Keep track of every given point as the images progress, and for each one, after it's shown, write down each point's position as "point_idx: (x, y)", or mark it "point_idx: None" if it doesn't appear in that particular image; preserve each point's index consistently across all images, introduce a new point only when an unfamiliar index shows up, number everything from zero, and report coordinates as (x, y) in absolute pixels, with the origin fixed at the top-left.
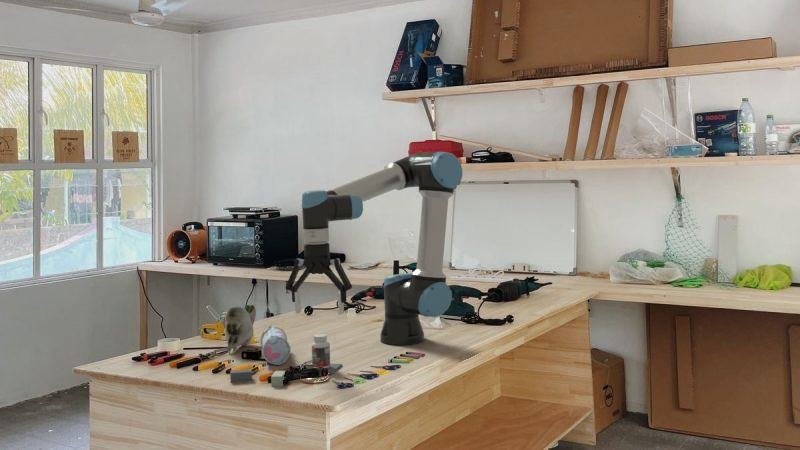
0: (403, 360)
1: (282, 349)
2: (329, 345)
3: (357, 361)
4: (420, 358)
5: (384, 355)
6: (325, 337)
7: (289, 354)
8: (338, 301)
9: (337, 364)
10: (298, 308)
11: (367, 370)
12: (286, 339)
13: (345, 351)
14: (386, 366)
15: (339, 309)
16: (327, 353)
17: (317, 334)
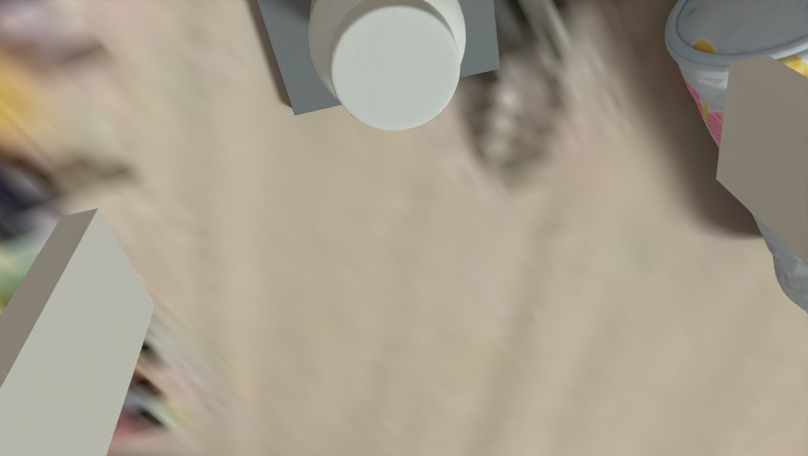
0: None
1: (732, 8)
2: (317, 72)
3: (272, 221)
4: None
5: (216, 352)
6: (330, 62)
7: (666, 37)
8: (19, 349)
9: (314, 94)
10: (769, 124)
11: (72, 77)
12: None
13: (446, 341)
14: (40, 195)
15: (57, 254)
16: (310, 9)
17: (442, 95)
